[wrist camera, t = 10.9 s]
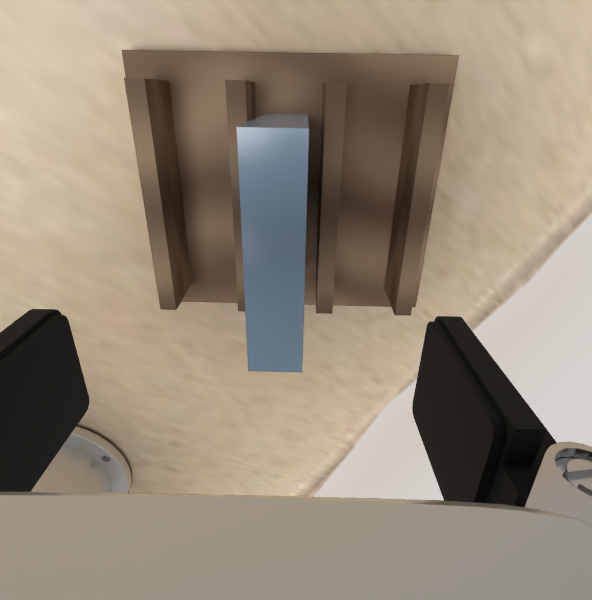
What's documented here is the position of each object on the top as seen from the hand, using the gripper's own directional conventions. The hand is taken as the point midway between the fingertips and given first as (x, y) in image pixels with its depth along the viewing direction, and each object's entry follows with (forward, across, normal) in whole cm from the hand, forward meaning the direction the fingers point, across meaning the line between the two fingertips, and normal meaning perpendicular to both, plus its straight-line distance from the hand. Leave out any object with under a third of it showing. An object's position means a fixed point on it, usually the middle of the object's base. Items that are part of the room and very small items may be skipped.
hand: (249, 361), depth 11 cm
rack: (+19, -1, -1) cm, 19 cm away
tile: (+18, 0, -1) cm, 18 cm away
